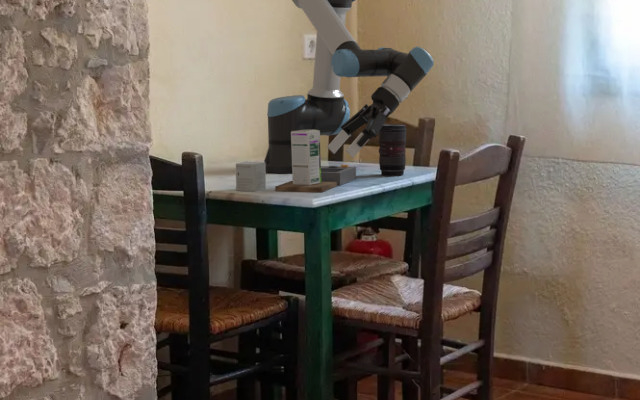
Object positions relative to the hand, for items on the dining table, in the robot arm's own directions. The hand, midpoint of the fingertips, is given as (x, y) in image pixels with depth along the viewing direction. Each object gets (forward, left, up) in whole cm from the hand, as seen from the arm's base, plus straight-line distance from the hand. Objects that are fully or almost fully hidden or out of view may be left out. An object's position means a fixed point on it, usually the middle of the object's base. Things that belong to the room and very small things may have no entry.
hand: (339, 152), depth 254 cm
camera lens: (+7, +30, -10) cm, 32 cm away
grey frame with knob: (-7, +10, -9) cm, 15 cm away
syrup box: (-8, -6, -8) cm, 13 cm away
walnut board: (-8, -6, -9) cm, 13 cm away
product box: (-22, -11, -10) cm, 26 cm away
